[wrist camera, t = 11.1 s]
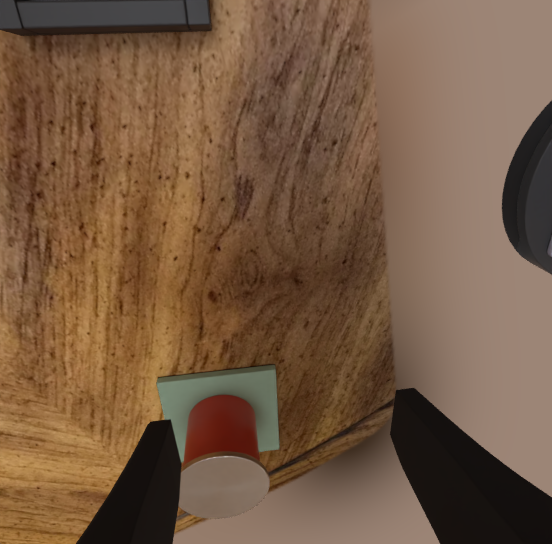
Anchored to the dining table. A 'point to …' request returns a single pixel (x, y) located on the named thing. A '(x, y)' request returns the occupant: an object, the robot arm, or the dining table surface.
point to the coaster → (238, 382)
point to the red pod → (222, 460)
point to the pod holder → (103, 16)
